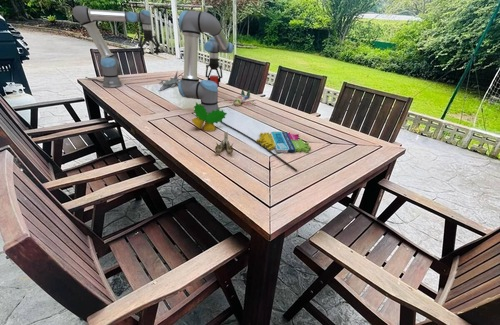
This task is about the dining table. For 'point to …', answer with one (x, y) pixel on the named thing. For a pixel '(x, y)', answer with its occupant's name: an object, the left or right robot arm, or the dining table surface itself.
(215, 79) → the can
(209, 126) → the ornament
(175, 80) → the airplane
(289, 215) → the dining table surface
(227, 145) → the jawbone
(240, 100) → the toy
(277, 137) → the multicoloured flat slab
